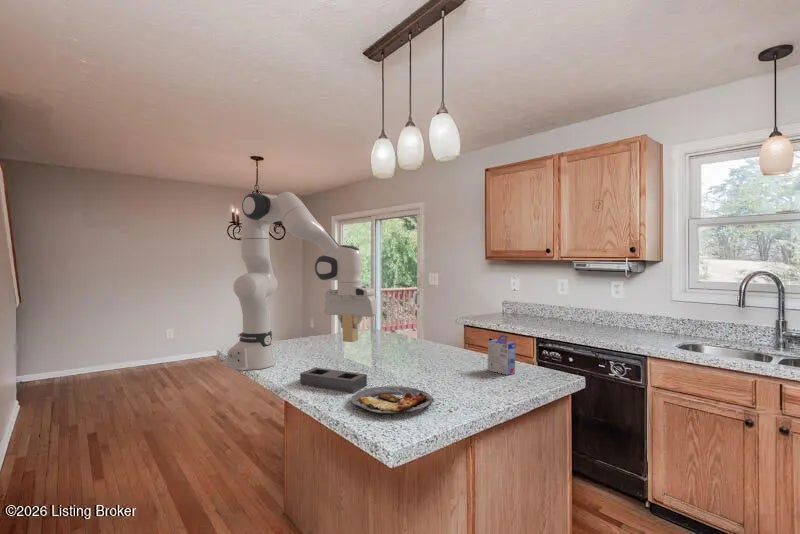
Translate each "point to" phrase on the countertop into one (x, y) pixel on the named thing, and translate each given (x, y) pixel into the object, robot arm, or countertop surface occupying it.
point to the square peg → (349, 328)
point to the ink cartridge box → (501, 356)
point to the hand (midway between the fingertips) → (350, 328)
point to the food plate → (392, 399)
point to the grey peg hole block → (334, 379)
